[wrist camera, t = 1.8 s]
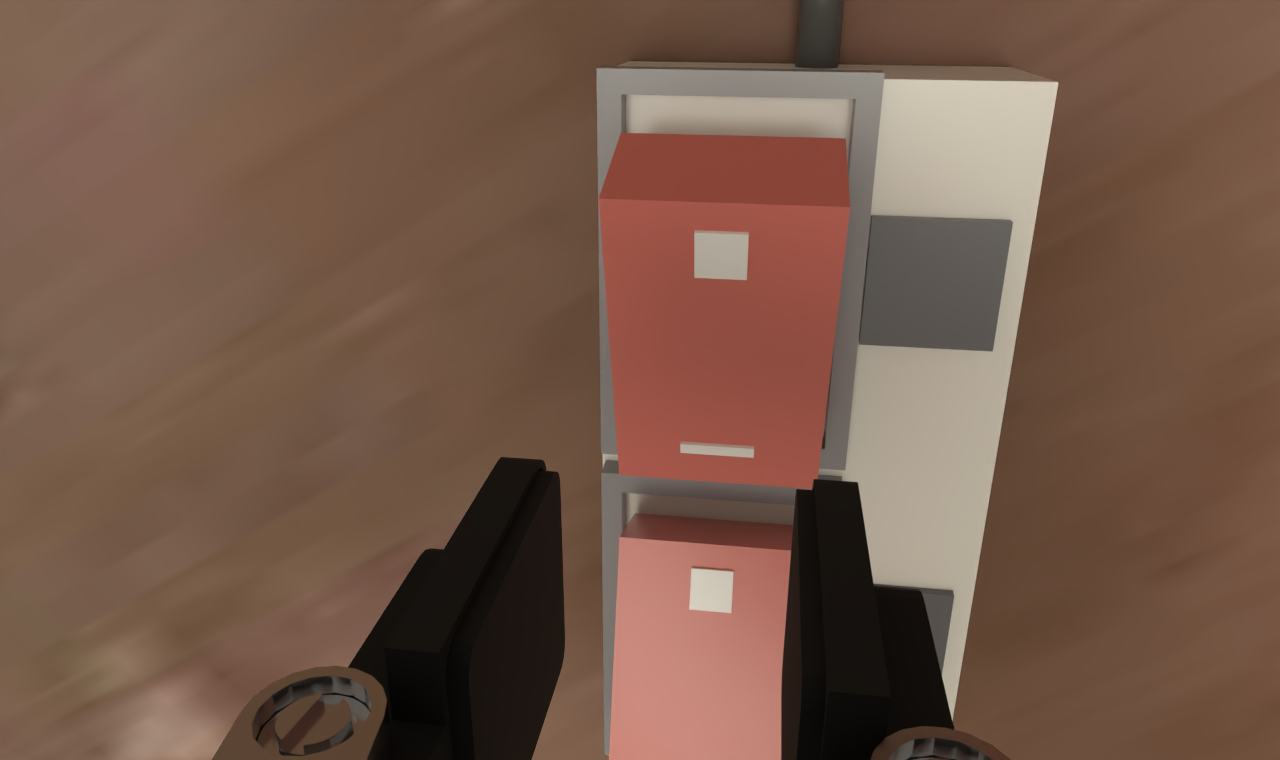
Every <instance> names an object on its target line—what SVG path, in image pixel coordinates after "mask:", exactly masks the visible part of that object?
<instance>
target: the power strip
mask: <svg viewBox="0 0 1280 760" xmlns="http://www.w3.org/2000/svg"><path fill="white" fill-rule="evenodd" d="M843 3H844V0H799V9H798V25H797V41H796V56H795V64H783V63H717V62H650V61H628V62H626V63H623V64H621V65H619V66H601V67H598V68H597V143H598V230H599V317H600V404H601V454H603V469H602V472H601V491H602V577H603V664H604V751H605V755H609V747H610V726H611V705H612V684H613V663H614V641H615V620H616V599H617V578H618V557H619V537H620V535H621V534H622V532H623V531H624V529H625V528H626V526H627V525H628V523H629V521H630V520H631V518H632V517H633V515H634V514H635V513H639V514H652V515H665V516H678V517H691V518H704V519H717V520H730V521H744V522H757V523H770V524H783V525H793V521H794V508H795V495H796V489H804V490H812V489H807V488H793V487H779V486H765V485H751V484H737V483H723V482H709V481H695V480H680V479H666V478H652V477H638V476H624V475H619V466H618V452H617V439H616V425H615V412H614V398H613V385H612V372H611V358H610V345H609V331H608V318H607V305H606V291H605V278H604V264H603V251H602V237H601V224H600V211H599V196H600V193H601V190H602V187H603V184H604V181H605V178H606V175H607V172H608V169H609V166H610V163H611V160H612V157H613V154H614V151H615V148H616V145H617V142H618V139H619V136H620V133H651V134H692V135H732V136H773V137H813V138H846V151H847V166H848V181H849V195H850V214H849V222H848V231H847V239H846V247H845V256H844V264H843V272H842V281H841V289H840V297H839V306H838V314H837V323H836V331H835V339H834V348H833V356H832V364H831V373H830V381H829V389H828V398H827V406H826V414H825V423H824V431H823V439H822V448H821V456H820V464H819V473H818V479H821V480H835V481H849V482H858V486H859V492H860V499H861V505H862V512H863V518H864V525H865V531H866V538H867V544H868V551H869V557H870V564H871V570H872V577H873V583H874V586H886V587H898V588H910V589H919V590H920V591H921V592H922V595H923V598H924V601H925V606H926V610H927V614H928V619H929V623H930V627H931V632H932V636H933V640H934V644H935V649H936V653H937V657H938V662H939V666H940V670H941V675H942V679H943V683H944V687H945V692H946V696H947V700H948V705H949V709H950V713H951V718H952V720H953V714H954V708H955V702H956V696H957V690H958V684H959V678H960V672H961V666H962V660H963V654H964V648H965V642H966V636H967V630H968V624H969V618H970V612H971V606H972V600H973V594H974V588H975V582H976V576H977V570H978V564H979V558H980V552H981V546H982V540H983V534H984V528H985V522H986V515H987V509H988V503H989V497H990V491H991V485H992V479H993V473H994V467H995V461H996V455H997V449H998V443H999V437H1000V431H1001V425H1002V419H1003V413H1004V407H1005V401H1006V395H1007V389H1008V383H1009V377H1010V371H1011V365H1012V359H1013V353H1014V347H1015V341H1016V335H1017V329H1018V323H1019V317H1020V311H1021V305H1022V299H1023V293H1024V287H1025V281H1026V275H1027V269H1028V263H1029V257H1030V251H1031V245H1032V239H1033V233H1034V227H1035V221H1036V215H1037V209H1038V203H1039V197H1040V190H1041V184H1042V178H1043V172H1044V166H1045V160H1046V154H1047V148H1048V142H1049V136H1050V130H1051V124H1052V118H1053V112H1054V106H1055V100H1056V94H1057V88H1058V82H1057V81H1054V80H1051V79H1048V78H1044V77H1041V76H1038V75H1035V74H1032V73H1029V72H1026V71H1023V70H1019V69H1016V68H1013V67H983V66H916V65H850V64H839V53H840V40H841V28H842V16H843Z"/></svg>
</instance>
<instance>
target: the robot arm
mask: <svg viewBox="0 0 1280 760" xmlns="http://www.w3.org/2000/svg"><path fill="white" fill-rule="evenodd" d="M564 648H565V627H564V594H563V561H562V528H561V495H560V477H559V474H558V472H552V471H546V466H545V463H544V461H543V460H535V459H521V458H507V457H501V458H500V459H499V460H498V462H497V463H496V465H495V466H494V468H493V470H492V471H491V473H490V475H489V476H488V478H487V480H486V481H485V483H484V484H483V486H482V488H481V489H480V491H479V493H478V494H477V496H476V498H475V499H474V501H473V502H472V504H471V506H470V507H469V509H468V511H467V512H466V514H465V516H464V517H463V519H462V520H461V522H460V524H459V525H458V527H457V529H456V530H455V532H454V534H453V535H452V537H451V538H450V540H449V542H448V543H447V545H446V547H445V548H444V550H442V549H427V550H425V551H424V552H423V553H422V554H421V556H420V557H419V558H418V560H417V561H416V563H415V564H414V566H413V568H412V569H411V571H410V572H409V574H408V575H407V577H406V578H405V580H404V581H403V583H402V585H401V586H400V588H399V589H398V591H397V592H396V594H395V595H394V597H393V598H392V600H391V602H390V603H389V605H388V606H387V608H386V609H385V611H384V612H383V614H382V616H381V617H380V619H379V620H378V622H377V623H376V625H375V626H374V628H373V629H372V631H371V633H370V634H369V636H368V637H367V639H366V640H365V642H364V643H363V645H362V646H361V648H360V650H359V651H358V653H357V654H356V656H355V657H354V659H353V660H352V662H351V664H350V665H349V667H348V668H347V667H340V666H330V667H316V668H311V669H308V670H304V671H300V672H296V673H292V674H290V675H288V676H286V677H284V678H282V679H280V680H277V681H275V682H273V683H271V684H270V685H269V686H267V687H266V688H264V689H263V690H262V691H260V692H259V693H258V694H256V695H255V696H254V697H253V698H252V699H251V700H250V702H249V703H248V704H247V705H246V706H245V708H244V709H243V710H242V711H241V713H240V714H239V716H238V718H237V719H236V721H235V722H234V724H233V726H232V727H231V729H230V731H229V732H228V734H227V736H226V737H225V739H224V740H223V742H222V744H221V745H220V747H219V749H218V750H217V752H216V754H215V755H214V757H213V759H212V760H531V759H532V756H533V753H534V750H535V747H536V744H537V741H538V738H539V735H540V732H541V729H542V726H543V723H544V720H545V717H546V714H547V711H548V708H549V705H550V702H551V699H552V696H553V692H554V689H555V686H556V683H557V680H558V677H559V674H560V671H561V668H562V663H563V658H564ZM781 760H1010V759H1009V758H1008V757H1007V756H1005V755H1004V754H1003V753H1001V752H1000V751H999V750H998V749H996V748H995V747H994V746H992V745H991V744H989V743H986V742H984V741H982V740H980V739H978V738H976V737H974V736H972V735H970V734H967V733H964V732H960V731H956V730H954V726H953V722H952V718H951V713H950V709H949V705H948V700H947V696H946V692H945V687H944V683H943V679H942V675H941V670H940V666H939V662H938V657H937V653H936V649H935V644H934V640H933V636H932V632H931V627H930V623H929V619H928V614H927V610H926V606H925V601H924V598H923V595H922V592H921V591H920V590H919V589H910V588H898V587H886V586H874V583H873V577H872V570H871V564H870V557H869V551H868V544H867V538H866V531H865V525H864V518H863V512H862V505H861V499H860V492H859V486H858V482H849V481H835V480H821V479H814V481H813V486H812V490H804V489H796V495H795V508H794V521H793V533H792V546H791V559H790V572H789V585H788V598H787V611H786V624H785V637H784V650H783V664H782V685H781Z"/></svg>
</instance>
